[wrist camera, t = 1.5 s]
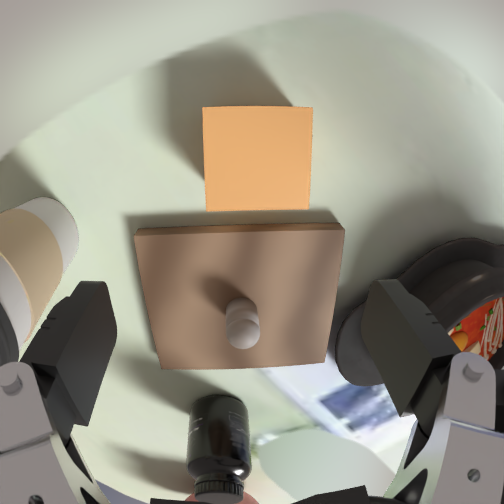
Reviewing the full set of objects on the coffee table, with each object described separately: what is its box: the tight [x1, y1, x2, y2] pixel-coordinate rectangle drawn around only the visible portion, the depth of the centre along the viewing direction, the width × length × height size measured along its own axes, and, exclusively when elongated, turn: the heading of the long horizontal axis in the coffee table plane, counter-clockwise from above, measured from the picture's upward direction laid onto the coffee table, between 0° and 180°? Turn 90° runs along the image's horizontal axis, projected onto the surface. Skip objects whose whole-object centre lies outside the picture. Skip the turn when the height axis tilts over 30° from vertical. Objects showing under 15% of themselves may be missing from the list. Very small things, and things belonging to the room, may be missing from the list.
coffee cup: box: [0, 197, 79, 367], centre depth 17 cm, size 9×9×15 cm
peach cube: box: [202, 106, 313, 212], centre depth 20 cm, size 6×6×6 cm
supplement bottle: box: [186, 395, 252, 504], centre depth 29 cm, size 7×7×12 cm
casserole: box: [335, 238, 504, 386], centre depth 27 cm, size 25×19×8 cm
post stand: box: [134, 223, 345, 369], centre depth 25 cm, size 16×14×6 cm
